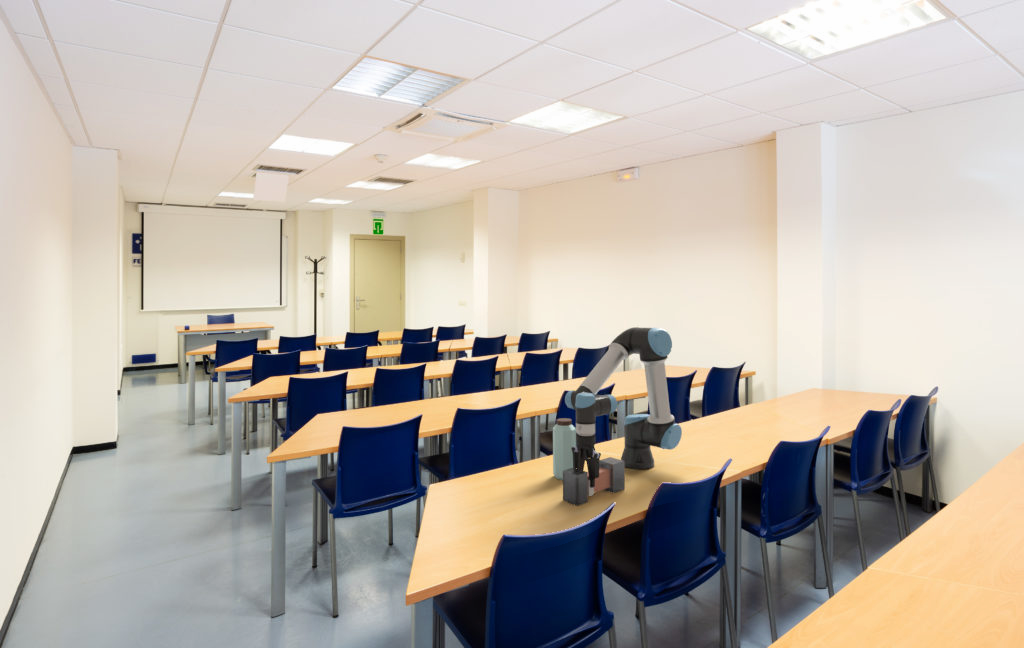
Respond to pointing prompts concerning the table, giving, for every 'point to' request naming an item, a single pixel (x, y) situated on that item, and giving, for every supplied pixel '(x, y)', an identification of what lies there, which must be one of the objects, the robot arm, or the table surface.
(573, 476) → the socket
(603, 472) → the pink rectangular block
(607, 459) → the sleeve
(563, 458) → the water bottle
